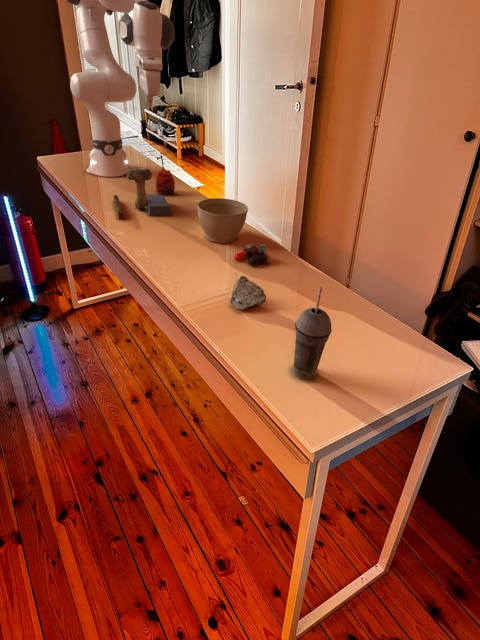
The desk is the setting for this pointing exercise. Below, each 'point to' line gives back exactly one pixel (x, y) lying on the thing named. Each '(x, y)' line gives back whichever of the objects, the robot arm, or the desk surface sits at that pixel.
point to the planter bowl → (221, 218)
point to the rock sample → (246, 294)
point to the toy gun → (253, 254)
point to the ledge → (118, 207)
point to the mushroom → (140, 185)
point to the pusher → (157, 205)
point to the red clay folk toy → (164, 181)
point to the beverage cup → (310, 340)
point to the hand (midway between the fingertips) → (149, 106)
